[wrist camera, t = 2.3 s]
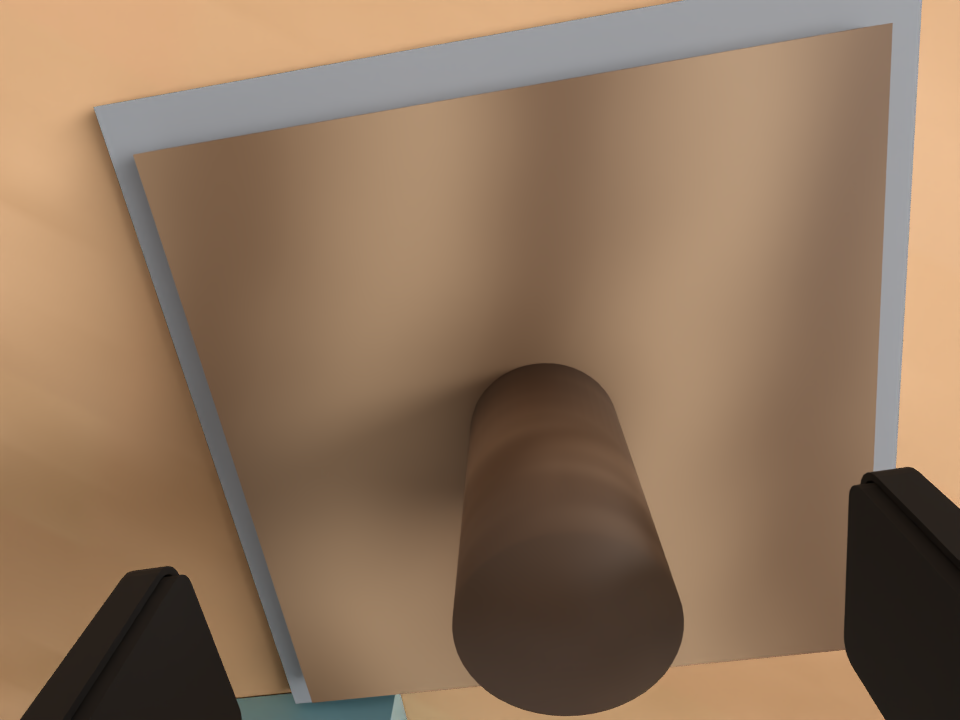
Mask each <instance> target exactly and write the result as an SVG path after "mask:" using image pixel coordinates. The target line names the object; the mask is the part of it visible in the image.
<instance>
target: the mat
mask: <svg viewBox="0 0 960 720" xmlns="http://www.w3.org/2000/svg"><path fill="white" fill-rule="evenodd" d="M921 8H922V0H683V1H678V2H672V3H667V4H661V5H656V6H650V7H645V8H639V9H634V10H628V11H622V12H617V13H611V14H606V15H600V16H595V17H589V18H584V19H578V20H573V21H567V22H562V23H556V24H551V25H545V26H539V27H534V28H528V29H523V30H517V31H512V32H506V33H501V34H495V35H490V36H484V37H479V38H473V39H468V40H462V41H456V42H451V43H445V44H440V45H434V46H429V47H423V48H418V49H412V50H407V51H401V52H396V53H390V54H384V55H379V56H373V57H368V58H362V59H357V60H351V61H346V62H340V63H335V64H329V65H324V66H318V67H313V68H307V69H301V70H296V71H290V72H285V73H279V74H274V75H268V76H263V77H257V78H252V79H246V80H241V81H235V82H230V83H224V84H218V85H213V86H207V87H202V88H196V89H191V90H185V91H180V92H174V93H169V94H163V95H158V96H152V97H147V98H141V99H135V100H130V101H124V102H119V103H113V104H108V105H102V106H97V107H94V110H95V113H96V116H97V119H98V122H99V125H100V128H101V131H102V134H103V137H104V140H105V143H106V146H107V149H108V152H109V155H110V157H111V160H112V163H113V166H114V169H115V172H116V175H117V178H118V181H119V184H120V187H121V190H122V193H123V196H124V199H125V202H126V205H127V208H128V211H129V214H130V217H131V219H132V222H133V225H134V228H135V231H136V234H137V237H138V240H139V243H140V246H141V249H142V252H143V255H144V258H145V261H146V264H147V267H148V270H149V273H150V276H151V279H152V281H153V284H154V287H155V290H156V293H157V296H158V299H159V302H160V305H161V308H162V311H163V314H164V317H165V320H166V323H167V326H168V329H169V332H170V335H171V338H172V340H173V343H174V346H175V349H176V352H177V355H178V358H179V361H180V364H181V367H182V370H183V373H184V376H185V379H186V382H187V385H188V388H189V391H190V394H191V397H192V400H193V402H194V405H195V408H196V411H197V414H198V417H199V420H200V423H201V426H202V429H203V432H204V435H205V438H206V441H207V444H208V447H209V450H210V453H211V456H212V459H213V462H214V464H215V467H216V470H217V473H218V476H219V479H220V482H221V485H222V488H223V491H224V494H225V497H226V500H227V503H228V506H229V509H230V512H231V515H232V518H233V521H234V523H235V526H236V529H237V532H238V535H239V538H240V541H241V544H242V547H243V550H244V553H245V556H246V559H247V562H248V565H249V568H250V571H251V574H252V577H253V580H254V583H255V585H256V588H257V591H258V594H259V597H260V600H261V603H262V606H263V609H264V612H265V615H266V618H267V621H268V624H269V627H270V630H271V633H272V636H273V639H274V642H275V645H276V647H277V650H278V653H279V656H280V659H281V662H282V665H283V668H284V671H285V674H286V677H287V680H288V683H289V686H290V689H291V692H292V695H293V698H294V701H295V704H299V703H309V702H312V700H311V697H310V694H309V691H308V688H307V685H306V682H305V679H304V676H303V673H302V670H301V667H300V664H299V661H298V658H297V655H296V652H295V649H294V645H293V642H292V639H291V636H290V633H289V630H288V627H287V624H286V621H285V618H284V615H283V612H282V609H281V606H280V603H279V600H278V597H277V594H276V590H275V587H274V584H273V581H272V578H271V575H270V572H269V569H268V566H267V563H266V560H265V557H264V554H263V551H262V548H261V545H260V542H259V539H258V535H257V532H256V529H255V526H254V523H253V520H252V517H251V514H250V511H249V508H248V505H247V502H246V499H245V496H244V493H243V490H242V487H241V484H240V480H239V477H238V474H237V471H236V468H235V465H234V462H233V459H232V456H231V453H230V450H229V447H228V444H227V441H226V438H225V435H224V432H223V429H222V425H221V422H220V419H219V416H218V413H217V410H216V407H215V404H214V401H213V398H212V395H211V392H210V389H209V386H208V383H207V380H206V377H205V374H204V371H203V367H202V364H201V361H200V358H199V355H198V352H197V349H196V346H195V343H194V340H193V337H192V334H191V331H190V328H189V325H188V322H187V319H186V316H185V312H184V309H183V306H182V303H181V300H180V297H179V294H178V291H177V288H176V285H175V282H174V279H173V276H172V273H171V270H170V267H169V264H168V261H167V257H166V254H165V251H164V248H163V245H162V242H161V239H160V236H159V233H158V230H157V227H156V224H155V221H154V218H153V215H152V212H151V209H150V206H149V202H148V199H147V196H146V193H145V190H144V187H143V184H142V181H141V178H140V175H139V172H138V169H137V166H136V163H135V160H134V157H133V155H134V154H139V153H144V152H149V151H155V150H160V149H166V148H172V147H177V146H183V145H189V144H195V143H201V142H206V141H212V140H218V139H224V138H229V137H235V136H241V135H247V134H252V133H258V132H264V131H270V130H275V129H281V128H287V127H293V126H298V125H304V124H310V123H316V122H321V121H327V120H333V119H339V118H345V117H350V116H356V115H362V114H368V113H373V112H379V111H385V110H391V109H396V108H402V107H408V106H414V105H419V104H425V103H431V102H437V101H442V100H448V99H454V98H460V97H465V96H471V95H477V94H483V93H489V92H494V91H500V90H506V89H512V88H517V87H523V86H529V85H535V84H540V83H546V82H552V81H558V80H563V79H569V78H575V77H581V76H586V75H592V74H598V73H604V72H609V71H615V70H621V69H627V68H633V67H638V66H644V65H650V64H656V63H661V62H667V61H673V60H679V59H684V58H690V57H696V56H702V55H707V54H713V53H719V52H725V51H730V50H736V49H742V48H748V47H753V46H759V45H765V44H771V43H777V42H782V41H788V40H794V39H800V38H805V37H811V36H817V35H823V34H828V33H834V32H840V31H846V30H851V29H857V28H863V27H869V26H875V25H882V24H888V23H893V29H892V52H891V75H890V98H889V122H888V145H887V168H886V191H885V214H884V237H883V260H882V284H881V307H880V330H879V353H878V376H877V399H876V422H875V446H874V469H873V472H874V471H882V470H889V469H896V454H897V436H898V418H899V400H900V382H901V365H902V347H903V329H904V311H905V293H906V275H907V258H908V240H909V222H910V204H911V186H912V168H913V151H914V133H915V115H916V97H917V79H918V62H919V44H920V26H921Z"/></svg>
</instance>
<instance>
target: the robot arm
mask: <svg viewBox="0 0 960 720" xmlns="http://www.w3.org/2000/svg"><path fill="white" fill-rule="evenodd" d="M844 644H845V649H846V652H847V656H848V658H849V661H850V663H851V665H852V667H853V669H854V670H855V672H856V673H857V675H858V677H859V678H860V680H861V681H862V683H863V685H864V686H865V688H866V689H867V691H868V693H869V694H870V696H871V697H872V699H873V701H874V702H875V704H876V705H877V707H878V709H879V710H880V712H881V713H882V715H883V717H884V718H885V720H960V509H959V508H958V507H957V506H956V505H955V504H954V503H953V502H952V501H950V500H949V499H948V498H947V497H946V496H945V495H944V494H943V493H942V492H941V491H939V490H938V489H937V488H936V487H935V486H934V485H933V484H932V483H931V482H929V481H928V480H927V479H926V478H925V477H924V476H923V475H922V474H921V473H920V472H918V471H917V470H915V469H914V468H911V467H904V468H896V469H889V470H882V471H874V472H867V473H865V474H864V475H863V477H862V479H861V483H860V484H859V485H854V486H852V487H851V489H850V491H849V504H848V532H847V560H846V588H845V615H844ZM20 720H242V716H241V711H240V707H239V705H238V702H237V700H236V697H235V695H234V692H233V689H232V687H231V684H230V682H229V679H228V677H227V674H226V671H225V669H224V666H223V664H222V661H221V658H220V656H219V653H218V651H217V648H216V646H215V643H214V640H213V638H212V635H211V633H210V630H209V628H208V625H207V622H206V620H205V617H204V615H203V612H202V609H201V607H200V604H199V602H198V599H197V597H196V594H195V591H194V589H193V586H192V584H191V582H190V580H189V578H188V577H187V576H186V575H179V574H178V572H177V571H176V570H175V569H174V568H173V567H169V566H166V567H158V568H151V569H143V570H136V571H131V572H129V573H127V574H126V575H125V576H124V577H123V578H122V579H121V581H120V582H119V584H118V585H117V586H116V588H115V589H114V590H113V592H112V593H111V595H110V596H109V597H108V599H107V600H106V602H105V603H104V604H103V606H102V607H101V608H100V610H99V611H98V613H97V614H96V615H95V617H94V618H93V620H92V621H91V622H90V624H89V625H88V626H87V628H86V629H85V631H84V632H83V633H82V635H81V636H80V638H79V639H78V640H77V642H76V643H75V644H74V646H73V647H72V649H71V650H70V651H69V653H68V654H67V656H66V657H65V658H64V660H63V661H62V662H61V664H60V665H59V667H58V668H57V669H56V671H55V672H54V674H53V675H52V676H51V678H50V679H49V680H48V682H47V683H46V685H45V686H44V687H43V689H42V690H41V692H40V693H39V694H38V696H37V697H36V698H35V700H34V701H33V703H32V704H31V705H30V707H29V708H28V710H27V711H26V712H25V714H24V715H23V716H22V718H21V719H20Z"/></svg>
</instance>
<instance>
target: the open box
mask: <svg viewBox="0 0 960 720" xmlns="http://www.w3.org/2000/svg"><path fill="white" fill-rule="evenodd" d="M236 700H237V702H238V705H239V707H240V711H241V716H242V720H407V717H406V713H405V710H404V706H403V702H402V698H401V695H400V694H396V695H386V696H376V697H366V698H356V699H346V700H336V701H326V702H316V703H312V702H309V703H299V704H295V701H294V698H293V695H292V693H289V694H279V695H269V696H260V697H250V698H240V699H236Z"/></svg>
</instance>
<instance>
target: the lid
mask: <svg viewBox="0 0 960 720" xmlns="http://www.w3.org/2000/svg"><path fill="white" fill-rule="evenodd" d="M892 29H893V23H888V24H882V25H875V26H869V27H863V28H857V29H851V30H846V31H840V32H834V33H828V34H823V35H817V36H811V37H805V38H800V39H794V40H788V41H782V42H777V43H771V44H765V45H759V46H753V47H748V48H742V49H736V50H730V51H725V52H719V53H713V54H707V55H702V56H696V57H690V58H684V59H679V60H673V61H667V62H661V63H656V64H650V65H644V66H638V67H633V68H627V69H621V70H615V71H609V72H604V73H598V74H592V75H586V76H581V77H575V78H569V79H563V80H558V81H552V82H546V83H540V84H535V85H529V86H523V87H517V88H512V89H506V90H500V91H494V92H489V93H483V94H477V95H471V96H465V97H460V98H454V99H448V100H442V101H437V102H431V103H425V104H419V105H414V106H408V107H402V108H396V109H391V110H385V111H379V112H373V113H368V114H362V115H356V116H350V117H345V118H339V119H333V120H327V121H321V122H316V123H310V124H304V125H298V126H293V127H287V128H281V129H275V130H270V131H264V132H258V133H252V134H247V135H241V136H235V137H229V138H224V139H218V140H212V141H206V142H201V143H195V144H189V145H183V146H177V147H172V148H166V149H160V150H155V151H149V152H144V153H139V154H134V155H133V157H134V160H135V163H136V166H137V169H138V172H139V175H140V178H141V181H142V184H143V187H144V190H145V193H146V196H147V199H148V202H149V206H150V209H151V212H152V215H153V218H154V221H155V224H156V227H157V230H158V233H159V236H160V239H161V242H162V245H163V248H164V251H165V254H166V257H167V261H168V264H169V267H170V270H171V273H172V276H173V279H174V282H175V285H176V288H177V291H178V294H179V297H180V300H181V303H182V306H183V309H184V312H185V316H186V319H187V322H188V325H189V328H190V331H191V334H192V337H193V340H194V343H195V346H196V349H197V352H198V355H199V358H200V361H201V364H202V367H203V371H204V374H205V377H206V380H207V383H208V386H209V389H210V392H211V395H212V398H213V401H214V404H215V407H216V410H217V413H218V416H219V419H220V422H221V425H222V429H223V432H224V435H225V438H226V441H227V444H228V447H229V450H230V453H231V456H232V459H233V462H234V465H235V468H236V471H237V474H238V477H239V480H240V484H241V487H242V490H243V493H244V496H245V499H246V502H247V505H248V508H249V511H250V514H251V517H252V520H253V523H254V526H255V529H256V532H257V535H258V539H259V542H260V545H261V548H262V551H263V554H264V557H265V560H266V563H267V566H268V569H269V572H270V575H271V578H272V581H273V584H274V587H275V590H276V594H277V597H278V600H279V603H280V606H281V609H282V612H283V615H284V618H285V621H286V624H287V627H288V630H289V633H290V636H291V639H292V642H293V645H294V649H295V652H296V655H297V658H298V661H299V664H300V667H301V670H302V673H303V676H304V679H305V682H306V685H307V688H308V691H309V694H310V697H311V700H312V703H316V702H326V701H336V700H346V699H356V698H366V697H376V696H386V695H396V694H406V693H416V692H426V691H436V690H446V689H457V688H467V687H477V686H482V687H483V688H484V689H485V690H486V691H488V692H489V693H491V694H492V695H494V696H495V697H497V698H498V699H500V700H502V701H504V702H506V703H508V704H510V705H512V706H515V707H518V708H520V709H523V710H527V711H531V712H535V713H539V714H546V715H554V716H579V715H586V714H593V713H598V712H602V711H606V710H609V709H612V708H615V707H618V706H620V705H623V704H625V703H627V702H629V701H631V700H633V699H635V698H636V697H638V696H639V695H641V694H643V693H644V692H646V691H647V690H648V689H649V688H651V687H652V686H653V685H654V684H656V683H657V681H658V680H659V679H660V678H661V677H662V676H663V675H664V674H665V673H666V671H667V670H668V669H669V667H677V666H687V665H697V664H707V663H718V662H728V661H738V660H748V659H758V658H768V657H778V656H788V655H798V654H808V653H818V652H828V651H838V650H846V649H845V644H844V615H845V588H846V560H847V532H848V504H849V491H850V489H851V487H852V486H854V485H859V484H860V483H861V479H862V477H863V475H864V474H865V473H867V472H873V469H874V446H875V422H876V399H877V376H878V353H879V330H880V307H881V284H882V260H883V237H884V214H885V191H886V168H887V145H888V122H889V98H890V75H891V52H892Z"/></svg>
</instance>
